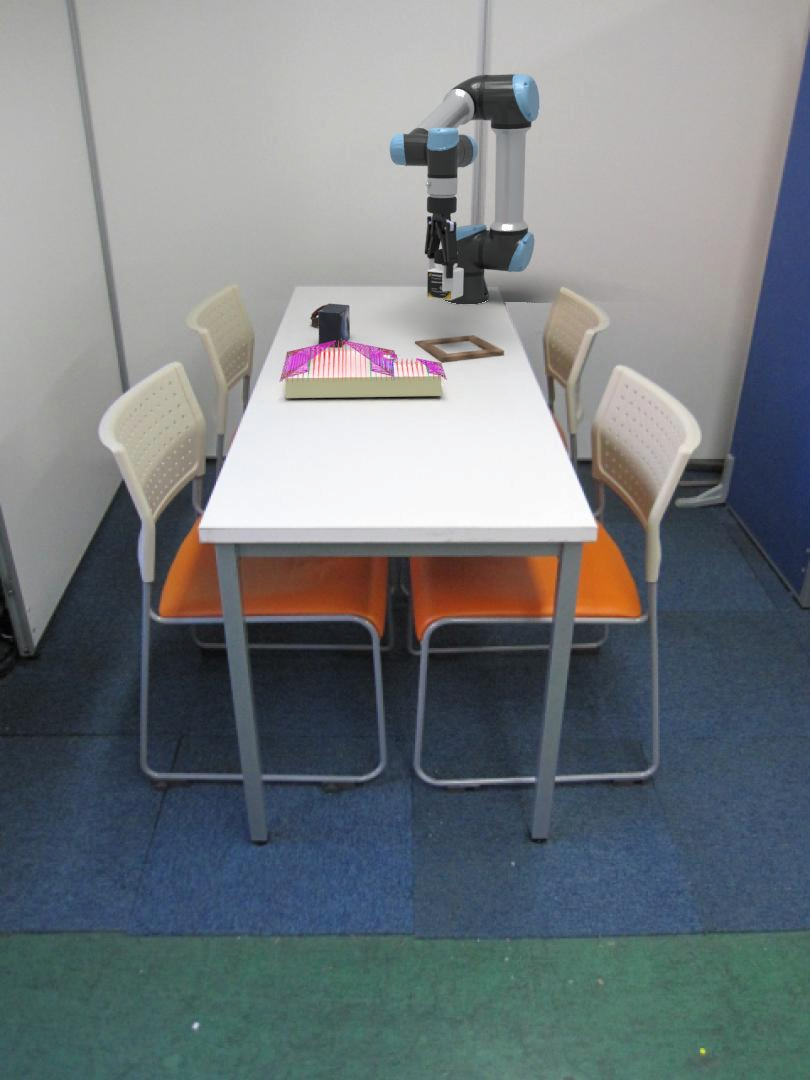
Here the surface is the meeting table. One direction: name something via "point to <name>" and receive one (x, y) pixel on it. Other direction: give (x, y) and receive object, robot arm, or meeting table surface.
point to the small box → (334, 324)
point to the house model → (357, 373)
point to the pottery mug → (314, 316)
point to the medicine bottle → (436, 280)
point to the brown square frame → (443, 357)
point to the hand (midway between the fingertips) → (440, 287)
